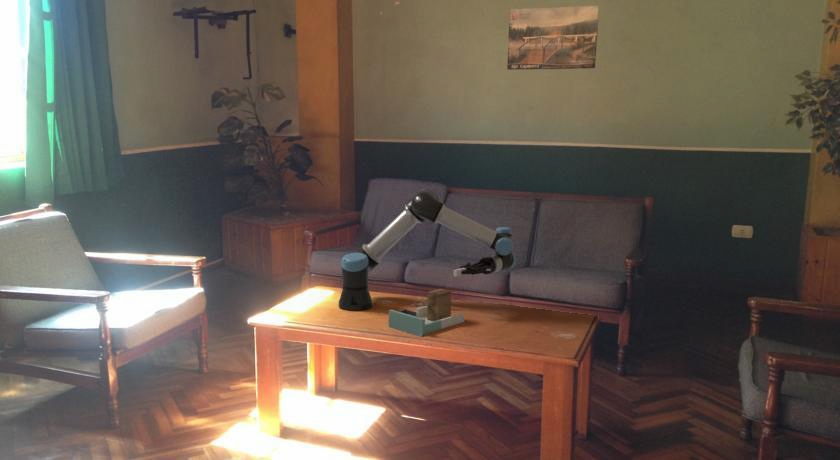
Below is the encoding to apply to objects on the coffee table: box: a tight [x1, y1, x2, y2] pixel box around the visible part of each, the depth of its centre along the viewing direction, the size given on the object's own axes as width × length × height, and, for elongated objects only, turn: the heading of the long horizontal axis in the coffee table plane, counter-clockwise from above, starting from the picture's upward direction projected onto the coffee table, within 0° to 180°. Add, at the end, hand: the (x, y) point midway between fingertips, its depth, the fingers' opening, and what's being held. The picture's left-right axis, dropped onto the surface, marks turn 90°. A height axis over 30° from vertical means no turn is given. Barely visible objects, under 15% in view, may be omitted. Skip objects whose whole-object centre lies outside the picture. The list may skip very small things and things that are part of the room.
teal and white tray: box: [388, 306, 465, 338], centre depth 294 cm, size 19×25×7 cm
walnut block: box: [426, 288, 452, 322], centre depth 299 cm, size 6×8×12 cm
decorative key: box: [410, 299, 427, 308], centre depth 319 cm, size 7×1×20 cm
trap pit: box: [398, 309, 416, 316], centre depth 302 cm, size 6×9×3 cm
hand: (455, 273), depth 303 cm, fingers closed
